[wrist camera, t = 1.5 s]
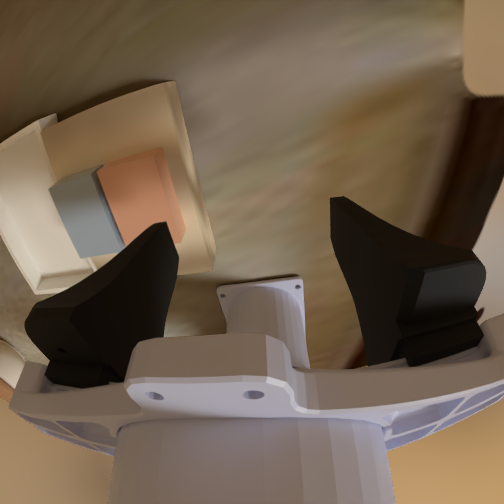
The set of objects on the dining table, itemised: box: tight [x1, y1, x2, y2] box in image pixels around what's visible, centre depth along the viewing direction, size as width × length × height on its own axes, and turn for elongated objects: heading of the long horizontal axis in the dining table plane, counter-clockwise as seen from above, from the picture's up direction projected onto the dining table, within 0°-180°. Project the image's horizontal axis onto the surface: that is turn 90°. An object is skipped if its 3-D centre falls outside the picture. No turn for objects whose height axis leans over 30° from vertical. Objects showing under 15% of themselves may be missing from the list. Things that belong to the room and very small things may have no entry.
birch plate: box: [40, 81, 217, 275], centre depth 20 cm, size 14×10×3 cm
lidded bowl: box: [0, 340, 25, 403], centre depth 34 cm, size 13×13×11 cm
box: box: [0, 113, 97, 295], centre depth 21 cm, size 16×11×2 cm
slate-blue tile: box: [48, 164, 126, 259], centre depth 18 cm, size 6×4×2 cm, turn 9°
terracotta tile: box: [97, 147, 186, 246], centre depth 18 cm, size 6×4×2 cm, turn 9°
